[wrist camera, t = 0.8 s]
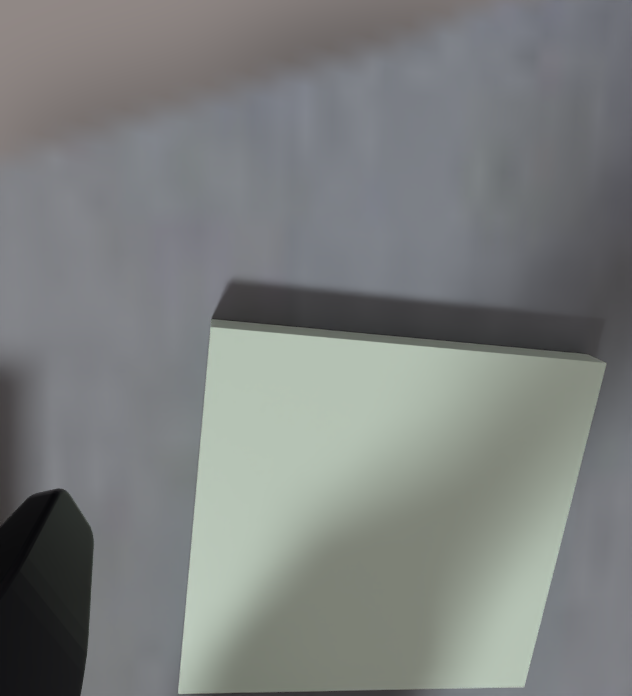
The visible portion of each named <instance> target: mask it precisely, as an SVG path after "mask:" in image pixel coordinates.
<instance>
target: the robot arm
mask: <svg viewBox="0 0 632 696" xmlns="http://www.w3.org/2000/svg"><path fill="white" fill-rule="evenodd" d="M93 549H94V539H93V533H92V530H91V527H90V525H89V523H88V522H87V520H86V519H85V517H84V516H83V514H82V513H81V511H80V510H79V508H78V506H77V505H76V503H75V502H74V500H73V499H72V497H71V496H70V494H69V493H68V492H67V491H65V490H64V489H53V490H49V491H44V492H40V493H36V494H33V495H31V496H30V497H29V498H28V499H26V500H25V501H24V503H23V504H22V505H21V506H20V507H19V508H18V509H17V510H16V511H15V512H14V513H13V514H12V515H11V516H10V517H9V518H8V519H7V520H6V521H5V522H4V523H3V524H2V525H1V527H0V696H80V695H81V689H82V683H83V677H84V671H85V664H86V657H87V647H88V636H89V619H90V601H91V584H92V566H93Z"/></svg>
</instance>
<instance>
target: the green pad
mask: <svg viewBox="0 0 632 696" xmlns="http://www.w3.org/2000/svg"><path fill="white" fill-rule="evenodd" d="M606 364H607V363H606V362H603V361H601V360H599V359H597V358H594V357H592V356H590V355H588V354H580V353H570V352H559V351H548V350H538V349H527V348H516V347H505V346H495V345H484V344H473V343H463V342H452V341H441V340H431V339H420V338H409V337H398V336H388V335H377V334H366V333H356V332H345V331H334V330H323V329H313V328H302V327H291V326H281V325H270V324H259V323H248V322H238V321H227V320H216V319H211V328H210V339H209V350H208V362H207V373H206V384H205V395H204V406H203V418H202V429H201V440H200V451H199V462H198V474H197V485H196V496H195V507H194V519H193V530H192V541H191V552H190V563H189V575H188V586H187V597H186V608H185V620H184V631H183V642H182V653H181V664H180V676H179V689H178V694H201V693H252V692H302V691H352V690H403V689H453V688H503V687H524V685H525V682H526V678H527V674H528V670H529V666H530V662H531V658H532V654H533V650H534V646H535V642H536V638H537V634H538V631H539V627H540V623H541V619H542V615H543V611H544V607H545V603H546V599H547V595H548V591H549V587H550V583H551V580H552V576H553V572H554V568H555V564H556V560H557V556H558V552H559V548H560V544H561V540H562V536H563V533H564V529H565V525H566V521H567V517H568V513H569V509H570V505H571V501H572V497H573V493H574V489H575V485H576V482H577V478H578V474H579V470H580V466H581V462H582V458H583V454H584V450H585V446H586V442H587V438H588V435H589V431H590V427H591V423H592V419H593V415H594V411H595V407H596V403H597V399H598V395H599V391H600V387H601V384H602V380H603V376H604V372H605V368H606Z"/></svg>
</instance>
